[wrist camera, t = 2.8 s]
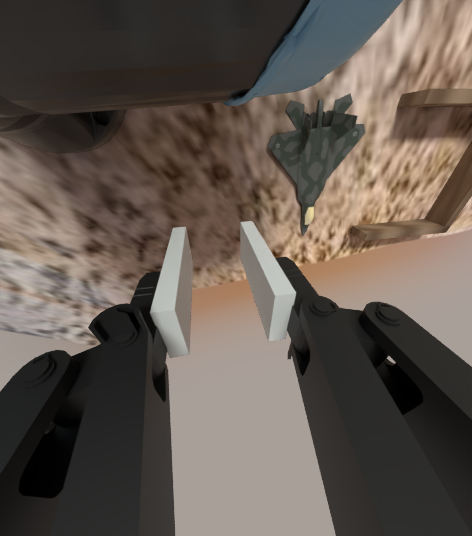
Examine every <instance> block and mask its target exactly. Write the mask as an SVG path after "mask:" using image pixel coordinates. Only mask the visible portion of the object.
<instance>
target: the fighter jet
mask: <svg viewBox="0 0 472 536" xmlns="http://www.w3.org/2000/svg"><path fill="white" fill-rule="evenodd" d="M351 104H352V98H351V94H348V95H346V96H344V97H342V98H340V99H338V100H336V101H335V105H334V109H333V110H332V111H327V112H326V113H325V112H323V100H319V101H318V105H317V111H316V113H311V114H310V115H309V114H306V113H305V112H304V104H301V103H298V102H294V101H290V103H289V105H288V107H287V109H286V112H287V113H288V115H289V117H290V119H291V120H292V122H293V124H294V125H295V127H296V128H297V130H296V131H292V132H288V133H283V134H279V135H274V136H272V137H271V139H270V141H269V143H268V147H269V149H270V150H271V151H272V153H273V154H274V155H275V156H276V158H277V159H278V161H279V162H280V163H281V165H282V166H283V167H284V169H285V170H286V171H287V173H288V174H289V175H290V177H291V178H292V179H293V181H294V182H295V183H296V185H297V190H298V194H297V198H298V200H299V202H300V203H301V204H302V216H301V231H302V234H303V236H304V234H305V233H306V231H307V228H308V226H309V224H310V223H311V221H312V220H313V217H314V204H315V202H316V200H317V199H318V198H319V196H320V194H321V192H322V190H323V188H324V186H325V182H326V180H327V178H328V177H329V176H330V175H331V174H332V172H333V171H334V170H335V169H336V167H337V166H338V165H339V164H340V163H341V161H342V160H343V159H344V158H345V156H346V155H347V154H348V153H349V152H350V150H351V149H352V148H353V147H354V146H355V144H356V143H357V142H358V141H359V140H360V138H361V137H362V136H363V135H364V133H365V129H364V124H356V120H357V116H355V115H349V114H344V113H345V111H346V110H347V109H348V108H349V106H350V105H351ZM324 113H325V114H324Z"/></svg>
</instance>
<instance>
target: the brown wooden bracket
mask: <svg viewBox="0 0 472 536" xmlns="http://www.w3.org/2000/svg"><path fill="white" fill-rule="evenodd" d="M467 106H472V89H427V90H422V91H417V92H412V93H407V94H402V96H401V99H400V102H399V104H398V107H467ZM471 196H472V142H471V144H470V145H469V147H468V149H467V150H466V152H465V154H464V155H463V157H462V158H461V160H460V162H459V163H458V165H457V167H456V168H455V170H454V172H453V173H452V175H451V177H450V178H449V180H448V182H447V183H446V185H445V187H444V188H443V190H442V191H441V193H440V195H439V196H438V198H437V200H436V201H435V203H434V205H433V206H432V208H431V210H430V211H429V213H428V215H427V216H426V218H425V219H421V220H410V221H400V222H389V223H378V224H368V225H357V226H353V227H352V229H351V233H353V234H354V235H356V236H357V237H359V238H360V239H362V240H364V241H369V240H378V239H388V238H397V237H407V236H416V235H426V234H435V233H445V232H447V230H448V229H449V227H450V226H451V225H452V223H453V222H454V220H455V219H456V218H457V216H458V215H459V213H460V212H461V210H462V209H463V208H464V206H465V205H466V203H467V202H468V201H469V199H470V198H471Z"/></svg>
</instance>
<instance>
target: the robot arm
mask: <svg viewBox="0 0 472 536" xmlns="http://www.w3.org/2000/svg"><path fill="white" fill-rule="evenodd" d="M402 1H403V0H0V136H1V137H4V138H7V139H9V140H12V141H15V142H17V143H20V144H23V145H25V146H28V147H31V148H35V149H38V150H42V151H47V152H53V153H77V152H84V151H89V150H93V149H96V148H98V147H100V146H102V145H103V144H105V143H106V142H108V141H109V140H110V139H111V138H112V137H113V136H114V135H115V133H116V132H117V130H118V129H119V127H120V125H121V123H122V120H123V118H124V114H125V110H126V109H134V108H148V107H161V106H174V105H188V104H201V103H215V102H223V103H224V104H225V105H226V106H238V105H241V104H245V103H246V102H248V101H250V100H251V99H253V98H254V97H260V96H267V95H274V94H281V93H289V92H296V91H300V90H303V89H305V88H308V87H310V86H312V85H314V84H316V83H318V82H319V81H321V80H322V79H323V78H324V77H325V76H326V75H327V74H328V73H330V72H331V71H333V70H334V69H336V68H338V67H339V66H341V65H342V64H343V63H344V62H346V61H347V60H348V59H349V58H351V57H352V56H353V55H354V54H355V53H356V52H357V51H358V50H359V49H360V48H361V47H362V46H363V45H364V44H365V43H366V42H367V41H368V40H369V39H370V38H371V36H372V35H373V34H374V33H375V32H376V31H377V30H378V29H379V28H380V27H381V26H382V25H383V23H384V22H385V21H386V20H387V19H388V18H389V16H390V15H391V14H392V13H393V12H394V10H395V9H396V8H397V7H398V6H399V4H400V3H401V2H402ZM240 242H241V261H242V264H243V267H244V270H245V273H246V276H247V279H248V282H249V285H250V288H251V291H252V294H253V297H254V300H255V303H256V306H257V309H258V311H259V315H260V318H261V321H262V324H263V327H264V330H265V332H266V336H267V338H268V341H275V340H281V339H285V338H286V334H287V331H288V333H289V336H290V338H291V344H290V348H289V351H288V359H291V356H292V357H293V362H294V365H295V369H296V374H297V377H298V382H299V386H300V390H301V394H302V398H303V403H304V406H305V411H306V415H307V419H308V423H309V427H310V431H311V435H312V439H313V443H314V448H315V452H316V456H317V459H318V464H319V468H320V472H321V476H322V480H323V484H324V489H325V493H326V497H327V501H328V505H329V509H330V513H331V517H332V521H333V525H334V529H335V534H336V536H472V367H471V366H470V365H469V364H467V363H466V362H465V361H464V360H462V359H461V358H460V357H459V356H457V355H456V354H455V353H454V352H452V351H451V350H450V349H449V348H447V347H446V346H445V345H444V344H442V343H441V342H440V341H439V340H437V339H436V338H435V337H434V336H432V335H431V334H430V333H429V332H427V331H426V330H425V329H424V328H423V327H421V326H420V325H419V324H418V323H416V322H415V321H414V320H413V319H411V318H410V317H409V316H408V315H406V314H405V313H404V312H402V311H401V310H399V309H398V308H396V307H394V306H391V305H389V304H387V303H382V302H371V303H369V304H367V305H366V306H365V308H364V310H363V311H360V310H352V309H343V308H339V307H338V306H337V304H336V303H334V302H333V301H332V300H330V299H328V298H326V297H323V296H319V295H318V294H317V292H316V291H315V290H314V288H313V287H312V286H311V284H310V283H309V282H308V280H307V279H306V278H305V276H304V275H303V274H302V273H301V271H300V270H299V268H298V267H297V266H296V264H295V263H294V262H293V261H292V260H290V259H289V258H287V257H280V258H275V257H274V256H273V254H272V253H271V251H270V249H269V248H268V246H267V244H266V243H265V241H264V240H263V238H262V236H261V235H260V233H259V231H258V230H257V228H256V226H255V225H254V223H253V222H252V221H247V222H240ZM192 280H193V260H192V255H191V250H190V245H189V240H188V234H187V229H186V227H176V228H173V230H172V234H171V237H170V241H169V244H168V248H167V252H166V255H165V259H164V263H163V266H162V270H161V271H159V272H150V273H146V274H145V275H144V276H143V277H142V278H141V279H140V280H139V283H138V285H137V288H136V290H135V293H134V297H133V298H132V300H131V303H130V304H119V305H116V306H113V307H110V308H108V309H106V310H105V311H103V312H101V313H100V314H99V315H98V316H97V317H95V318H94V319H93V320H92V322H91V324H90V325H89V327H88V328H89V329H90V330H91V332H92V333H93V334H94V335H95V337H96V338H97V339H98V340H99V342H100V343H101V344H100V345H98V346H96V347H94V348H91V349H89V350H86V351H84V352H81V353H79V354H76V355H74V356H70V355H69V354H68V353H67V352H65V351H62V350H55V351H50V352H46V353H44V354H42V355H40V356H38V357H36V358H34V359H33V360H31V361H30V362H28V363H27V364H26V365H24V366H23V367H22V368H21V369H20V370H19V371H18V372H17V373H16V374H15V375H14V376H13V377H12V378H11V379H10V381H9V382H8V383H7V384H6V385H5V387H4V388H3V389H2V390H1V391H0V536H175V520H174V496H173V474H172V450H171V428H170V406H169V405H170V404H169V382H168V381H169V380H168V369H167V365H166V363H165V361H166V354H167V352H168V355H169V357H170V358H172V357H178V356H184V355H189V348H190V325H191V323H190V322H191V302H192ZM388 356H390V357H391V358H392V359H393V360H394V361H395V362H396V363H395V364H394V363H392V362H390V361H389V360H388V359H387V357H388Z"/></svg>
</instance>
